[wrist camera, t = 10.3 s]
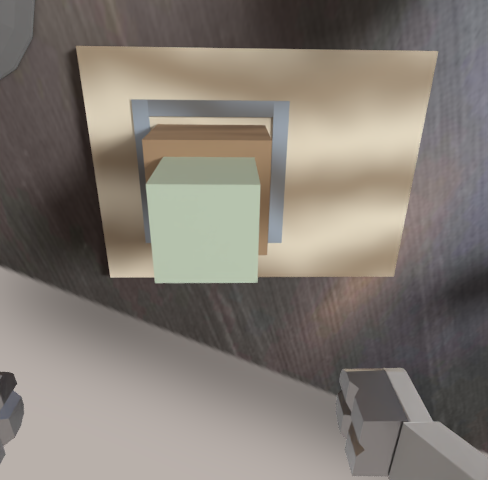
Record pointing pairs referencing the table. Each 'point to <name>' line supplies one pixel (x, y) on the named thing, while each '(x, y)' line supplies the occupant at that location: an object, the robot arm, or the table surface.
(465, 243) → the table surface
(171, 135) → the base block
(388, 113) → the build board
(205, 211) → the top block
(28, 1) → the cup
